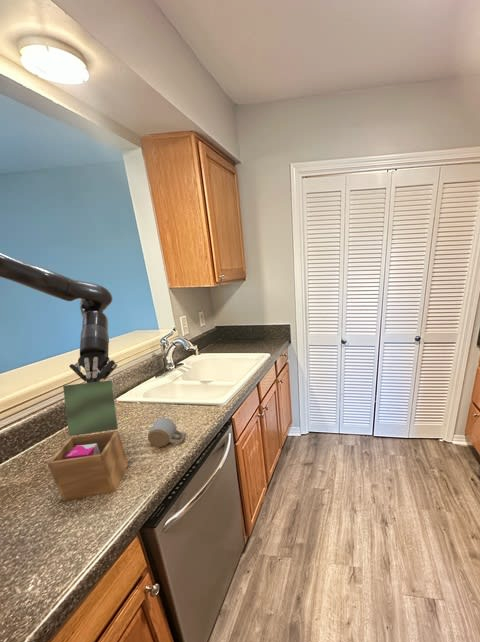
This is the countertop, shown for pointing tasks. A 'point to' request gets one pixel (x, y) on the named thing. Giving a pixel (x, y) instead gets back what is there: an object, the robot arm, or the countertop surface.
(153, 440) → the ceramic mug
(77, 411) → the lid
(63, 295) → the robot arm
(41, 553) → the countertop surface
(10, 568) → the countertop surface
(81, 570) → the countertop surface
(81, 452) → the supplement box
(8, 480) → the countertop surface
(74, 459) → the chest
